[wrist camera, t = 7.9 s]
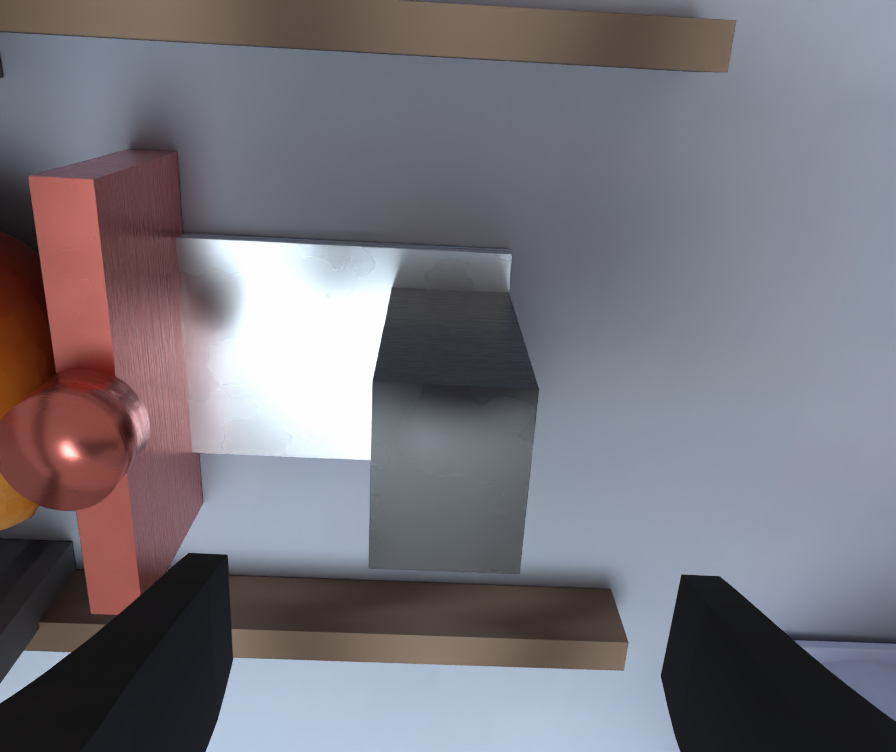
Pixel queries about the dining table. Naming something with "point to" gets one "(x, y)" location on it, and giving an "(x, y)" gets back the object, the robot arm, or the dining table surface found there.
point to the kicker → (264, 378)
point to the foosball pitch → (334, 600)
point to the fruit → (21, 348)
